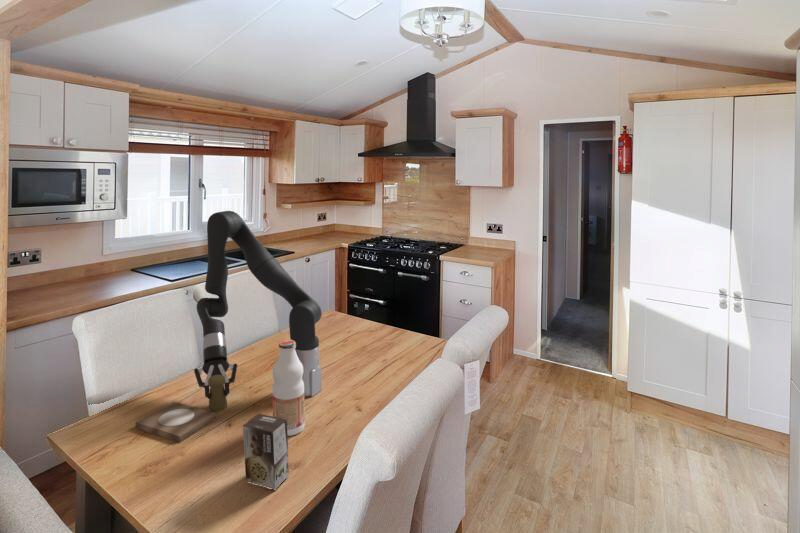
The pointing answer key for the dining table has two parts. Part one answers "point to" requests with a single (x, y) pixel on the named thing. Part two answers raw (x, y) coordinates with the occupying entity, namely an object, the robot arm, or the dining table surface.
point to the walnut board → (176, 421)
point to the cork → (217, 393)
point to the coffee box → (266, 450)
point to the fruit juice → (289, 388)
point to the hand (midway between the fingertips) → (217, 396)
